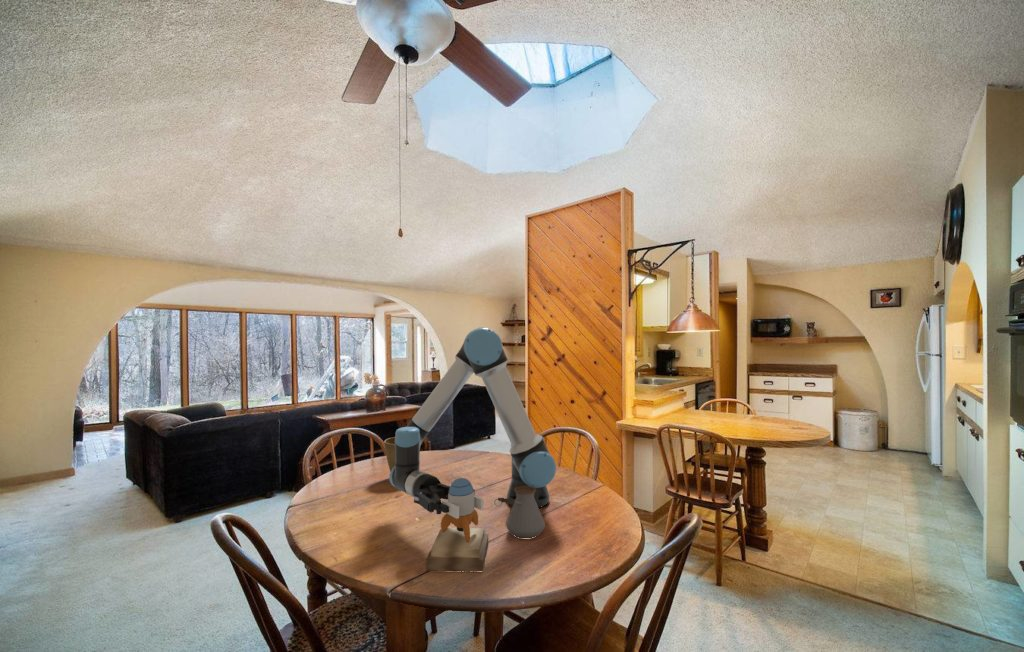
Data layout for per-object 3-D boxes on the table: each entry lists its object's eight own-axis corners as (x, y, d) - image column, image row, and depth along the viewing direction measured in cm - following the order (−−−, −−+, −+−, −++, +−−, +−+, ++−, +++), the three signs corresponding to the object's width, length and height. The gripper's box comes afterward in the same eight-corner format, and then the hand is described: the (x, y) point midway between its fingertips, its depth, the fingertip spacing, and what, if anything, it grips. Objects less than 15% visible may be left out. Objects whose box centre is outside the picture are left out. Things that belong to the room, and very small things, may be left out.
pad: (488, 545, 116) (488, 526, 116) (482, 572, 102) (482, 551, 102) (438, 544, 116) (438, 526, 117) (426, 571, 102) (426, 550, 103)
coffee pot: (518, 522, 131) (517, 473, 131) (551, 530, 125) (550, 479, 125) (479, 551, 112) (479, 495, 113) (516, 562, 106) (516, 502, 107)
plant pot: (377, 483, 169) (377, 443, 170) (393, 472, 184) (393, 435, 185) (412, 484, 167) (412, 444, 168) (425, 473, 181) (425, 436, 182)
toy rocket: (477, 546, 103) (462, 491, 102) (437, 551, 105) (422, 496, 104) (486, 521, 113) (473, 470, 112) (450, 526, 115) (437, 476, 114)
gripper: (451, 491, 130) (500, 512, 113) (391, 508, 116) (436, 535, 99) (451, 466, 130) (499, 484, 113) (392, 481, 116) (436, 503, 99)
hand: (470, 508), depth 106 cm, fingers closed on toy rocket, 7 cm apart
